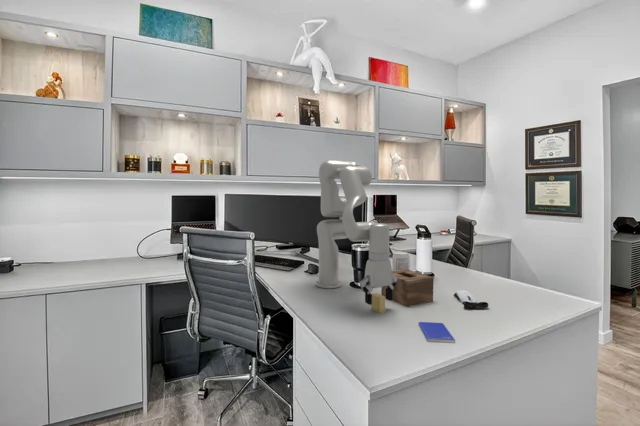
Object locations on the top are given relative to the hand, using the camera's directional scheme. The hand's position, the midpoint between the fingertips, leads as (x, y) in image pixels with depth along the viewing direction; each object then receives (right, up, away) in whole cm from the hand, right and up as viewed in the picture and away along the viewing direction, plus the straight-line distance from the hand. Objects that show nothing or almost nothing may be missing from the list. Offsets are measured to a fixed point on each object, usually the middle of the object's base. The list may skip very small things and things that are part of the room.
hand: (378, 301), depth 119 cm
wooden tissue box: (+15, -3, +15) cm, 21 cm away
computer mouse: (+38, -4, +11) cm, 40 cm away
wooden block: (0, -4, +1) cm, 4 cm away
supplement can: (+18, -2, +39) cm, 43 cm away
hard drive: (+15, -6, -19) cm, 24 cm away
